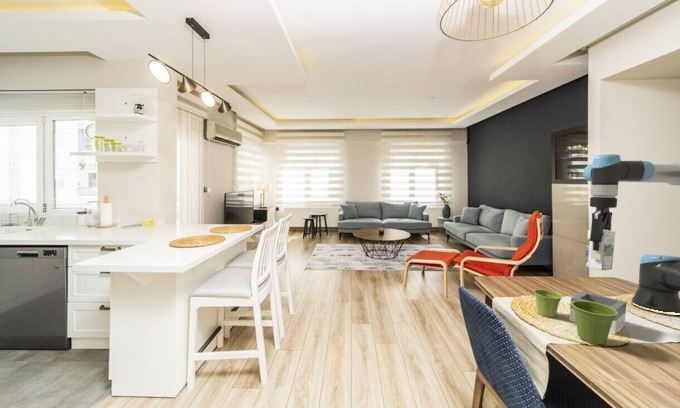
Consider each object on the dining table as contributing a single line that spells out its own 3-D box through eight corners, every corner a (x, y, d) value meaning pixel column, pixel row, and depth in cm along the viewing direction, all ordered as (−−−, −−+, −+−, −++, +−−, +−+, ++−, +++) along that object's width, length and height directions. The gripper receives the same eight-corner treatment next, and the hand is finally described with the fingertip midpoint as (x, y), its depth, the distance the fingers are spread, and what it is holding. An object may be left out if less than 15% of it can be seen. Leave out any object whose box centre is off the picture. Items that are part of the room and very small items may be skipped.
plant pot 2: (560, 330, 105) (562, 299, 104) (594, 331, 105) (597, 300, 104) (587, 349, 93) (590, 314, 93) (626, 350, 93) (628, 315, 92)
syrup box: (594, 265, 115) (597, 228, 114) (612, 269, 109) (615, 230, 108) (584, 266, 113) (587, 229, 112) (602, 271, 107) (605, 231, 106)
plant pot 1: (562, 314, 119) (563, 293, 118) (559, 322, 112) (560, 300, 111) (535, 307, 125) (536, 287, 124) (530, 314, 118) (531, 293, 118)
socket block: (581, 312, 121) (582, 291, 120) (624, 325, 110) (626, 301, 109) (569, 320, 113) (571, 297, 113) (614, 334, 103) (616, 309, 102)
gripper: (599, 196, 118) (595, 252, 119) (581, 196, 107) (577, 258, 108) (624, 196, 112) (620, 256, 113) (608, 197, 101) (603, 263, 102)
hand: (599, 257), depth 111 cm, fingers closed on syrup box, 7 cm apart
